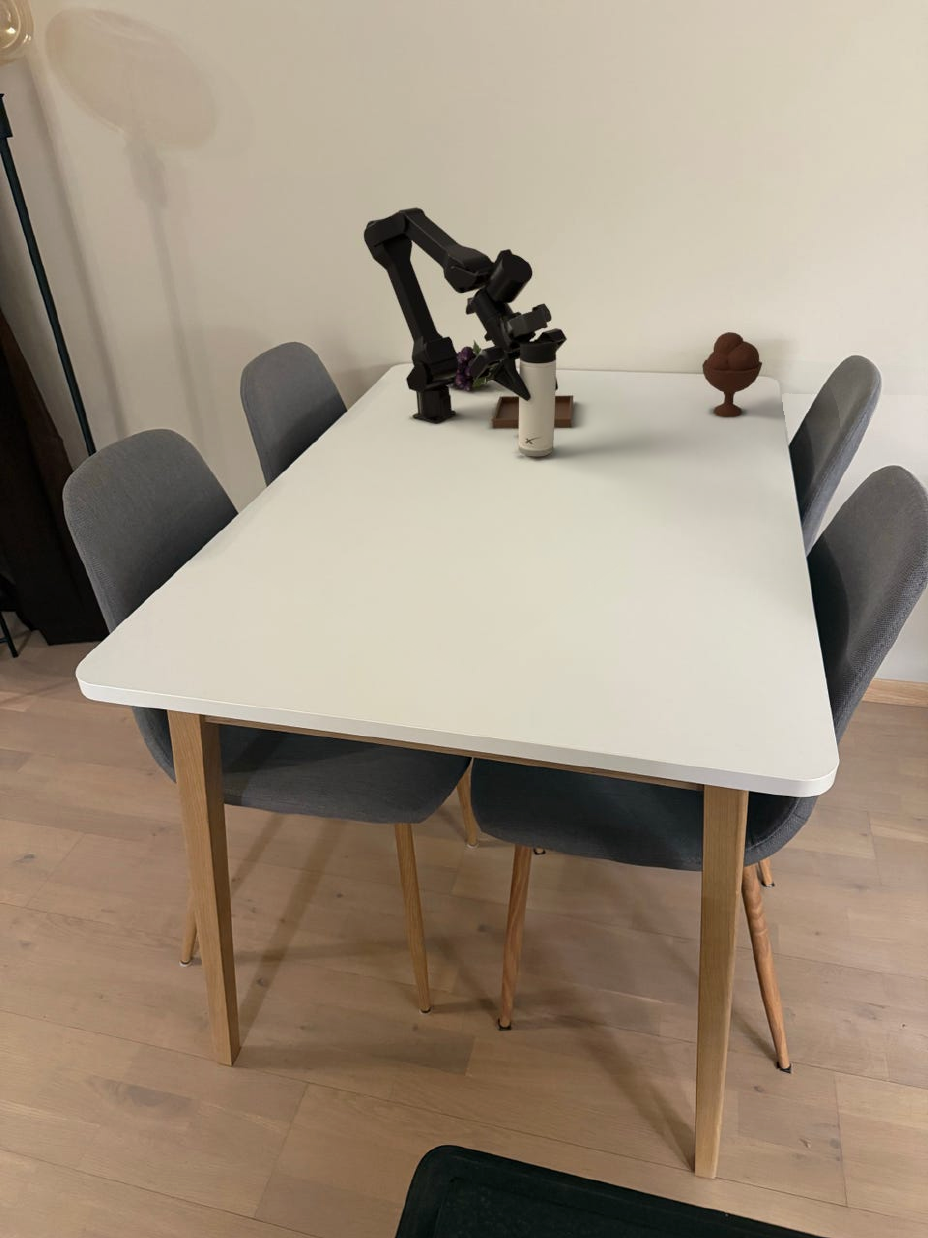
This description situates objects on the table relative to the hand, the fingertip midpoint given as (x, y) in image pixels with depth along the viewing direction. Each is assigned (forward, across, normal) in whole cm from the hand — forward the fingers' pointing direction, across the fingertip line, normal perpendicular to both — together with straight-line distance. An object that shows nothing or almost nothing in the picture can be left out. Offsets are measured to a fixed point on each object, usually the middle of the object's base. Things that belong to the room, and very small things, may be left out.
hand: (542, 394), depth 156 cm
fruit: (-20, +17, +37) cm, 45 cm away
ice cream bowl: (+16, +40, 0) cm, 43 cm away
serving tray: (-4, +14, +20) cm, 24 cm away
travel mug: (+7, 0, +9) cm, 11 cm away
